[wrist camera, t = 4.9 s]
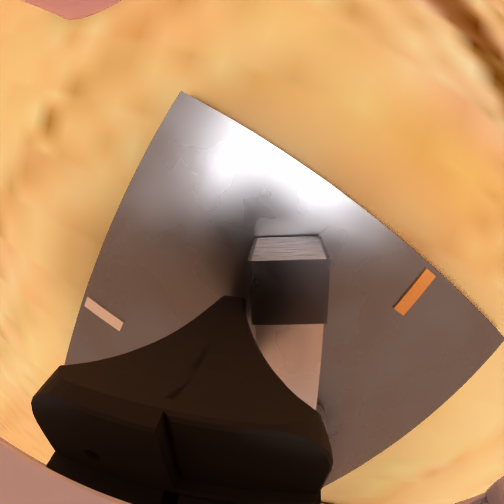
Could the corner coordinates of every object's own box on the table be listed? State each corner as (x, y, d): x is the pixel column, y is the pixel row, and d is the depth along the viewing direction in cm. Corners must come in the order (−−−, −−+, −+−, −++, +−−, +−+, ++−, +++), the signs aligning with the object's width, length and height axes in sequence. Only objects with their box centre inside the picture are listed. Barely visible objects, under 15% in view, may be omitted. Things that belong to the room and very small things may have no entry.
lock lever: (321, 439, 13) (323, 472, 11) (252, 439, 14) (247, 472, 12) (341, 235, 10) (355, 258, 8) (234, 238, 10) (221, 261, 8)
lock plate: (319, 477, 17) (320, 489, 16) (73, 355, 15) (63, 366, 14) (496, 328, 12) (506, 339, 11) (189, 95, 10) (180, 90, 9)
